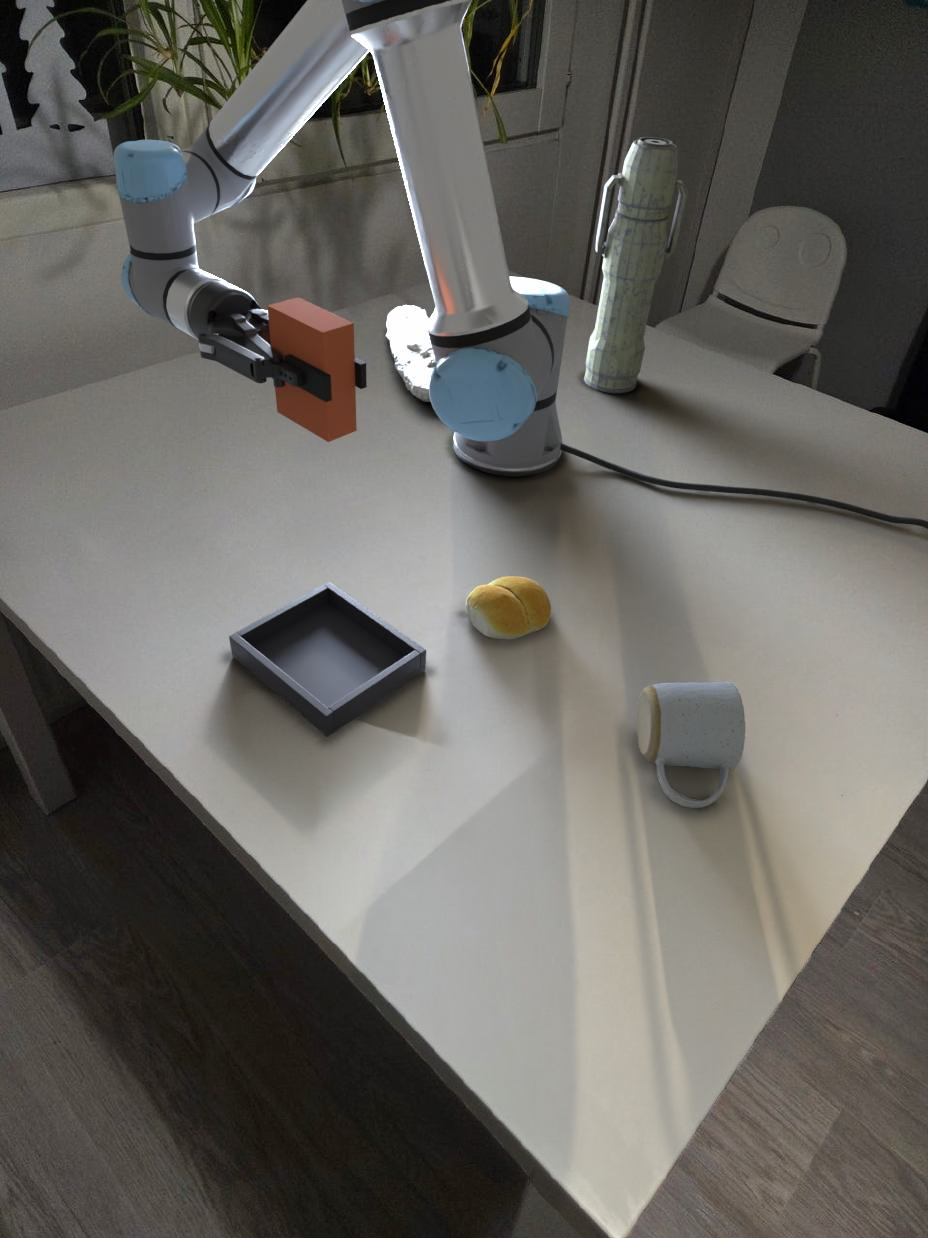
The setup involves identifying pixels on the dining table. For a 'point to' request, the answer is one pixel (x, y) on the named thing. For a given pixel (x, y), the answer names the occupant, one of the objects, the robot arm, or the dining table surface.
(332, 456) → the dining table surface
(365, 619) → the tray
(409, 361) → the elongated rock
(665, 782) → the ceramic mug
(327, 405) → the reddish orange block
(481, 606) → the bread roll
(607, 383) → the thermos
